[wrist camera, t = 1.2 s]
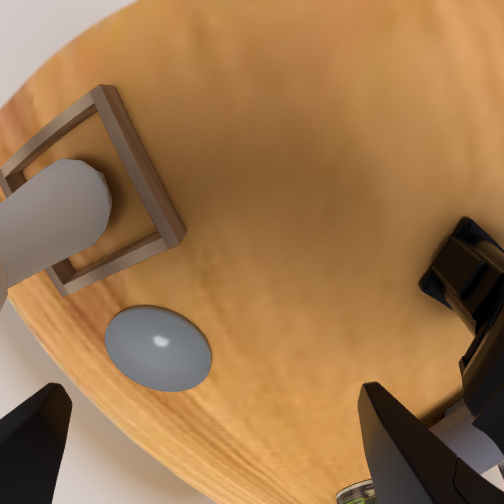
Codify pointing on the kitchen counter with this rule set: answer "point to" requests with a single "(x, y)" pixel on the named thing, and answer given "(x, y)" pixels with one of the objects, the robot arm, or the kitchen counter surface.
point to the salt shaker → (51, 219)
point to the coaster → (158, 348)
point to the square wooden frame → (137, 169)
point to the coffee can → (358, 494)
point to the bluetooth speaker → (467, 439)
